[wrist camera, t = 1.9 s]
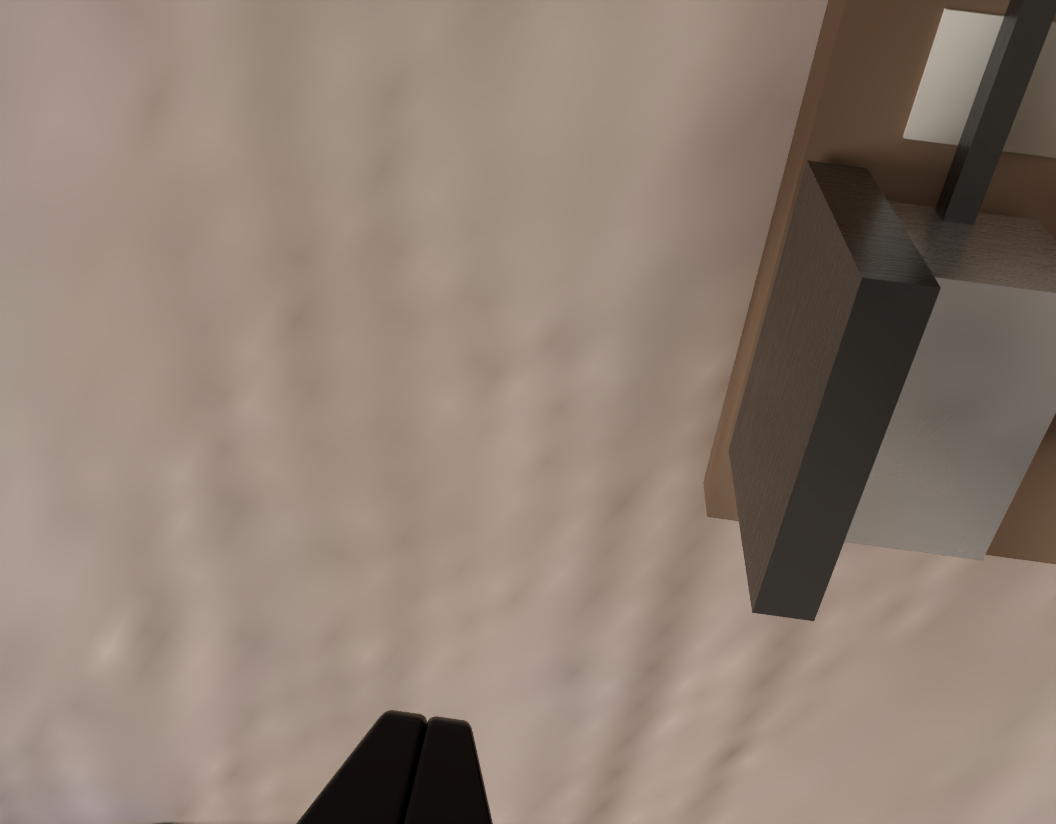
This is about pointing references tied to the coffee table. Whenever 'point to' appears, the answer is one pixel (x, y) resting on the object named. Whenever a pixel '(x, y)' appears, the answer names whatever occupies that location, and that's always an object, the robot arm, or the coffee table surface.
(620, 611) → the coffee table surface
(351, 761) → the robot arm
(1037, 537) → the gauge stand
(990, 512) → the gauge carriage
